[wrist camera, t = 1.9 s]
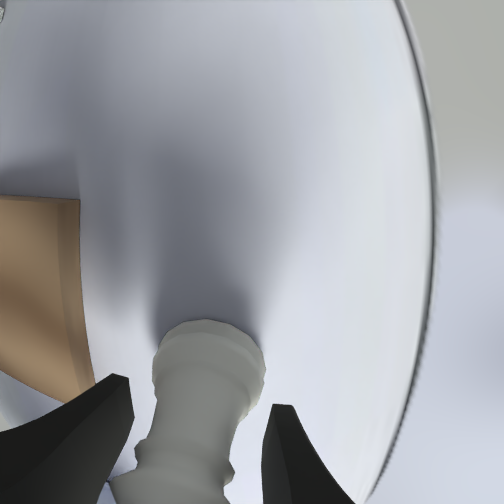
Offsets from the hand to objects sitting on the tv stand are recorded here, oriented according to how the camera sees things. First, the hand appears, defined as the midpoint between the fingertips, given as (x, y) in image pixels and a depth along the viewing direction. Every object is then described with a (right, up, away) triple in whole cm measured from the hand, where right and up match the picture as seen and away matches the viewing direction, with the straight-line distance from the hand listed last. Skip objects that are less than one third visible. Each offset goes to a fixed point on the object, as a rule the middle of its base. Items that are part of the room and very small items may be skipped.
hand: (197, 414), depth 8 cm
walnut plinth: (-11, +3, +3) cm, 11 cm away
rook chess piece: (0, +1, +3) cm, 3 cm away
